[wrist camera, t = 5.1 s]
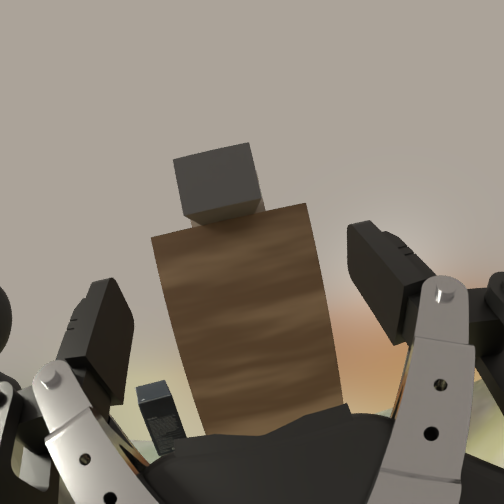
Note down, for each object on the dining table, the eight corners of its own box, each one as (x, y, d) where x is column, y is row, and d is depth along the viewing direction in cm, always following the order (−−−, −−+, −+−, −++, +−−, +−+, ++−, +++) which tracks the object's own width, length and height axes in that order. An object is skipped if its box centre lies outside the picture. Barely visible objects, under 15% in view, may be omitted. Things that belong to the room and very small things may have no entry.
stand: (354, 507, 25) (291, 144, 24) (245, 532, 25) (139, 178, 24) (328, 450, 38) (274, 177, 37) (243, 469, 37) (171, 200, 36)
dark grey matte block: (262, 197, 16) (248, 142, 16) (183, 215, 16) (172, 159, 16) (249, 223, 35) (243, 196, 35) (212, 231, 35) (207, 204, 35)
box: (191, 448, 45) (171, 394, 45) (159, 457, 43) (136, 403, 42) (182, 428, 52) (164, 378, 52) (153, 436, 50) (134, 386, 50)
